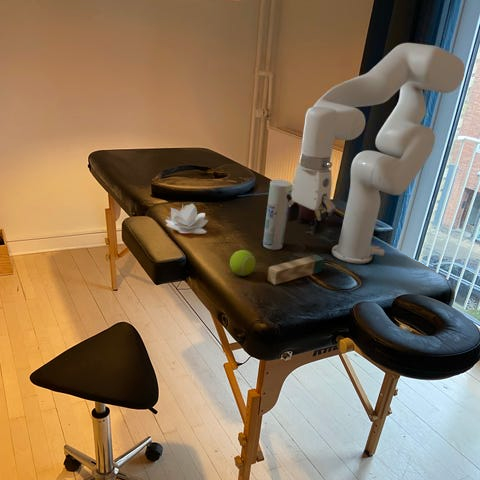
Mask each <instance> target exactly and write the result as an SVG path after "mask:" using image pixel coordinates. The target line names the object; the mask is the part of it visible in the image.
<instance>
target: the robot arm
mask: <svg viewBox="0 0 480 480" xmlns="http://www.w3.org/2000/svg"><path fill="white" fill-rule="evenodd" d="M465 70H466V69H465V64H464V62H463V60H462V59H461V58H460V57H459V56H456V55H455V54H453V53H451V52H450V51H448V50H446V49H444V48H443V47H440V46H437V45H431V44H423V43H415V42H403V43H400V44H398V45H396V46H395V47H394V48H393V49H392V50H391V51H389V52H388V53H387V54H386V55H385V56H384V57H383V58H382V59H381V60H380V61H379V62H378V63H377V64H376V65H375V66H373V67H372V68H371V69H370V70H369V71H368V72H366V73H364V74H361V75H358V76H355V77H353V78H351V79H349V80H346V81H343V82H340V83H339V84H336V85H334V86H333V87H331V88H329V90H327V91H326V92H325V93H324V94H323V95H322V96H321V97H320V98H319V99H318V100H317V101H316V102H315V103H314V104H313V106H312V107H310V108H309V107H308V109H307V110H306V113H305V119H304V126H303V134H302V139H301V140H302V141H301V148H300V155H299V163H298V164H297V167H296V169H295V172H294V176H293V181H292V185H290V186H287V187H286V194H287V199H288V202H289V203H288V206H289V208H288V215H287V221H288V222H294V221H297V220H299V216H300V210H299V208H300V205H302V206H304V207H307V208H309V209H311V210H314V211H315V214H316V218H315V219H314V220H315V222H313V230H312V234H313V235H319V234H323V232H324V230H325V224H326V220H327V219H328V218H330V216H332V215H333V213H334V212H335V210H336V205H335V203H333V202H332V200H331V195H332V185H333V184H332V181H333V179H332V178H333V175H332V174H333V173H332V170H331V168H332V167H333V163H332V162H331V160H332V155H333V149H334V142H335V141H336V140H337V141H338V140H340V141H352V140H355V139H356V138H358V137H359V136H360V135H361V134H362V133H363V131H364V130H365V126H366V117H365V114H364V112H362V111H361V110H360V109H359V108H360V107H361V108H362V107H370V106H376V105H381V104H384V103H386V102H388V101H389V100H390V99H391V98H392V97H393V96H394V95H395V94H396V93H397V92H398V91H399V97H398V101H397V103H396V106H395V107H394V108H393V110H392V111H391V113H390V114H389V116H388V117H387V118H386V120H385V122H384V124H383V125H382V126H381V128H380V130H379V131H378V133H377V135H376V137H375V143H374V144H375V147H376V148H377V150H378V151H376V150H363V151H361V152H359V153H357V154H356V155H355V157H354V158H353V160H352V162H351V167H350V186H349V193H348V197H347V202H346V207H345V208H346V209H345V212H344V216H343V221H342V226H341V230H340V235H339V238H338V244H336V245H334V246H332V248H331V254H332V256H334V257H335V258H336V259H338V260H340V261H343V262H347V263H350V264H366V263H367V264H368V263H369V262H371V261H372V259H373V256H374V255H377V256H382V257H383V256H385V251H386V250H385V249H383V248H380V246H376V245H375V246H374V245H373V244H372V239H373V235H374V232H375V227H376V223H377V219H378V215H379V212H380V207H381V194H380V192H381V193H382V192H383V193H385V194H388V195H392V196H400V195H402V194H404V193H405V192H406V191H407V190H408V188H409V187H410V186H411V184H412V183H413V181H415V179H416V177H417V176H418V174H419V172H420V171H421V169H422V168H423V166H424V165H425V164H426V162H427V161H428V159H429V157H430V156H431V153H432V151H433V148H434V147H435V143H436V135H435V132H434V130H432V128H431V127H428V126H426V125H423V124H421V123H422V121H423V120H424V118H425V116H426V113H427V104H426V100H425V96H424V91H423V90H425V91H430V92H436V93H442V94H451V93H453V92H455V91H456V90H457V89H459V87H460V86H461V84H462V82H463V80H464V77H465V72H466V71H465ZM379 151H380V152H379Z"/></svg>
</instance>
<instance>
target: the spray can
mask: <svg viewBox="0 0 480 480" xmlns="http://www.w3.org/2000/svg"><path fill="white" fill-rule="evenodd" d="M290 185H293V182H291V181H289V180H285V179H272V180H270V181H269V190H268V197H267V207H266V216H265V223H264V230H263V231H264V232H263V240H262V245H263V247H264V248H266V249H269V250H280V249H282V248H283V245H284V239H285V233H286V226H287V221H288V216H289V208H290V207H289V206H288V203H289V202H288V199H287V194H286V187H287V186H290Z"/></svg>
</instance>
